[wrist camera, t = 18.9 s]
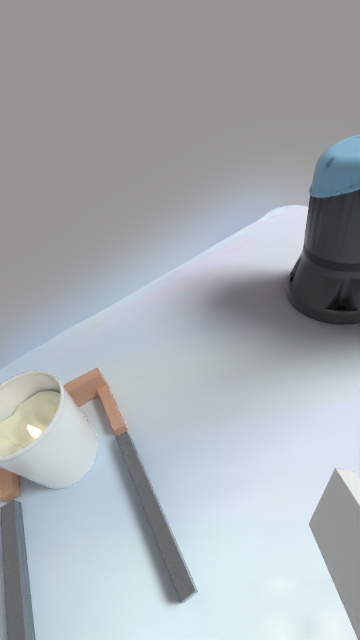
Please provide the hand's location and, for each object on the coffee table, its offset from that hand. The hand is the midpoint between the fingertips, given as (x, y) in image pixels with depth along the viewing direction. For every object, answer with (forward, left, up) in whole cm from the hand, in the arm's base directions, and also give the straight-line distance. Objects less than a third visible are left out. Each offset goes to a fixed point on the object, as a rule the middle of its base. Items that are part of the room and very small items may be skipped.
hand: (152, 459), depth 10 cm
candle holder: (+11, -18, -25) cm, 33 cm away
